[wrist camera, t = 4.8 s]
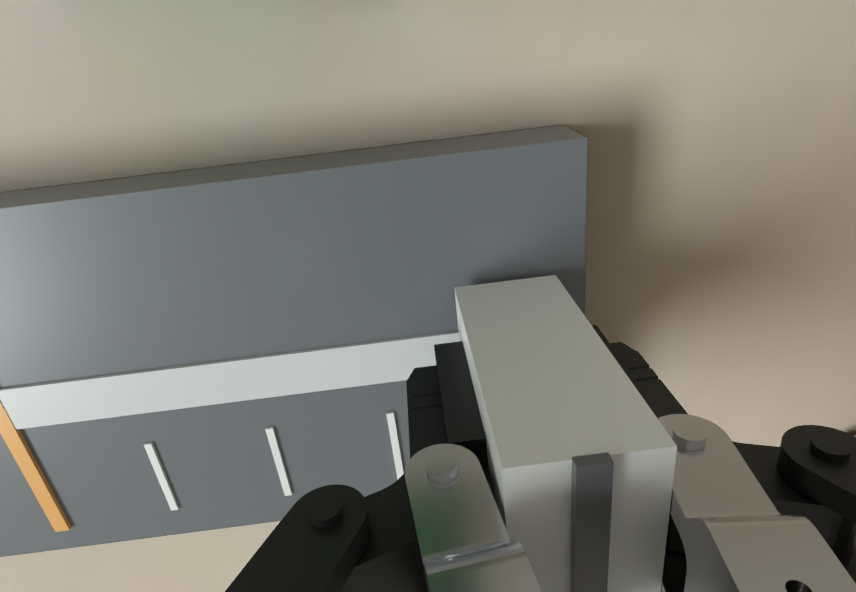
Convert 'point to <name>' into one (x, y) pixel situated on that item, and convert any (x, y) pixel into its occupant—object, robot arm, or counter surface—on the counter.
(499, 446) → the fader tab
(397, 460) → the console
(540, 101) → the counter surface
